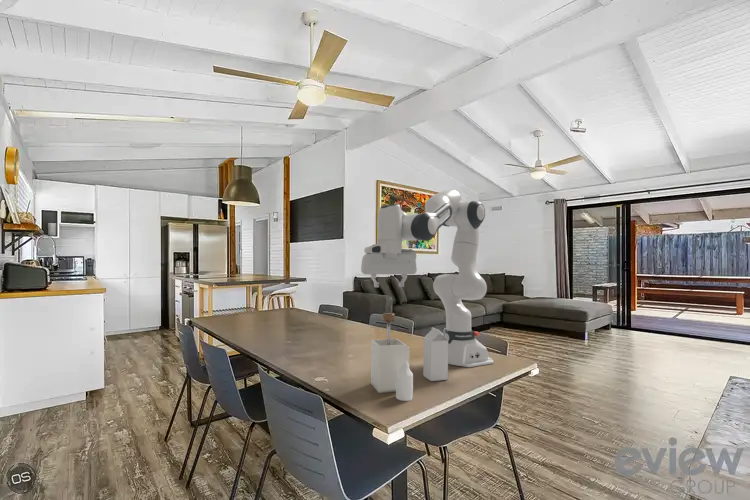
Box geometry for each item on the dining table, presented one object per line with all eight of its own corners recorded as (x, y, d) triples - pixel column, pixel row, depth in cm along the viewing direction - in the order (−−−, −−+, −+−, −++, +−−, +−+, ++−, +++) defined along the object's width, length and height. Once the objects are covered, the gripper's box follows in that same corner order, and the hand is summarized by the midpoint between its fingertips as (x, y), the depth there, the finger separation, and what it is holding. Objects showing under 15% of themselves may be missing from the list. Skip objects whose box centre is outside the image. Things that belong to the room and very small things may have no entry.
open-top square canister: (403, 380, 142) (403, 338, 142) (413, 389, 132) (414, 344, 132) (370, 383, 138) (371, 340, 138) (378, 393, 128) (379, 346, 129)
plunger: (395, 353, 140) (395, 311, 140) (402, 359, 132) (403, 315, 132) (374, 355, 137) (374, 312, 138) (381, 360, 130) (381, 315, 130)
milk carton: (430, 381, 141) (431, 330, 141) (423, 375, 148) (423, 327, 148) (448, 380, 143) (448, 330, 143) (439, 374, 150) (440, 326, 150)
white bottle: (392, 360, 126) (406, 358, 129) (392, 396, 126) (406, 393, 129) (402, 364, 121) (417, 362, 124) (402, 402, 121) (416, 399, 123)
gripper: (412, 249, 141) (412, 286, 141) (360, 248, 136) (359, 286, 135) (419, 249, 135) (419, 287, 135) (364, 247, 130) (364, 288, 129)
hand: (389, 287), depth 135 cm, fingers open, 8 cm apart
